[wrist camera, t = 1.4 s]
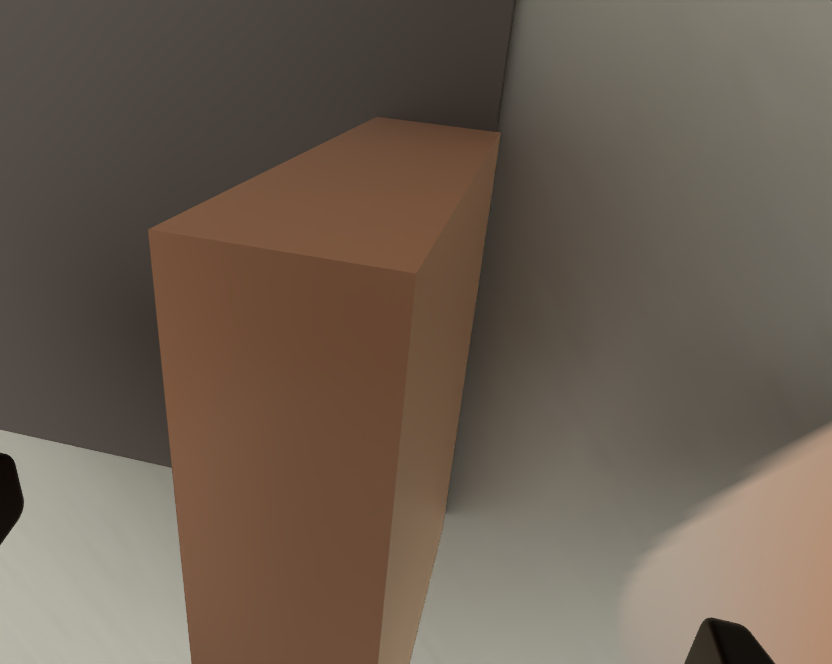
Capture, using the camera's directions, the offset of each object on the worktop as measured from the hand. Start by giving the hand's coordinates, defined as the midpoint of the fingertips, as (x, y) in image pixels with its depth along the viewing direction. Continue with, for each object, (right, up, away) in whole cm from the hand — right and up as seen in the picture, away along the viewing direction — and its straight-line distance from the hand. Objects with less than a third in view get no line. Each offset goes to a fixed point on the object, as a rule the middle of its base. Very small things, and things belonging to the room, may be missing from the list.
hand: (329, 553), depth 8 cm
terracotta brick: (+1, +2, +5) cm, 6 cm away
